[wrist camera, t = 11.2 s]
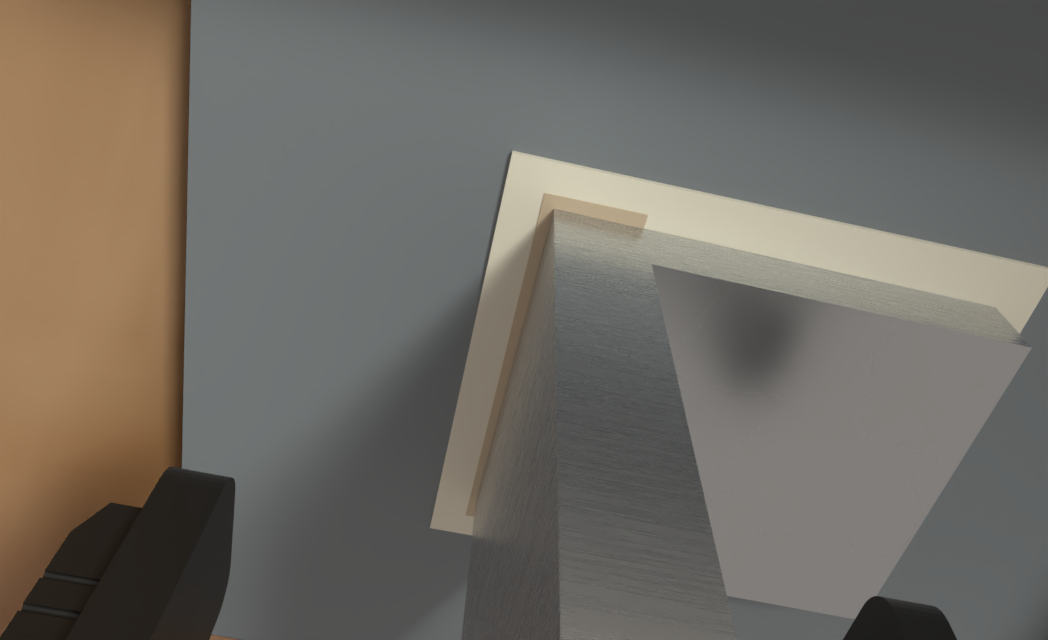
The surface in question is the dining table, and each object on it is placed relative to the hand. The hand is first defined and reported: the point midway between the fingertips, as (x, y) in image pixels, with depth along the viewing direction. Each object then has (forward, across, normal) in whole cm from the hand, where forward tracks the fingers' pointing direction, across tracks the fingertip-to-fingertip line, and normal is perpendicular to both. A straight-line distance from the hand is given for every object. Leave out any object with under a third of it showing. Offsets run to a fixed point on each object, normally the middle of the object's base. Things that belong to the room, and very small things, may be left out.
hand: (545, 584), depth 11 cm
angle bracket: (+4, -3, 0) cm, 5 cm away
